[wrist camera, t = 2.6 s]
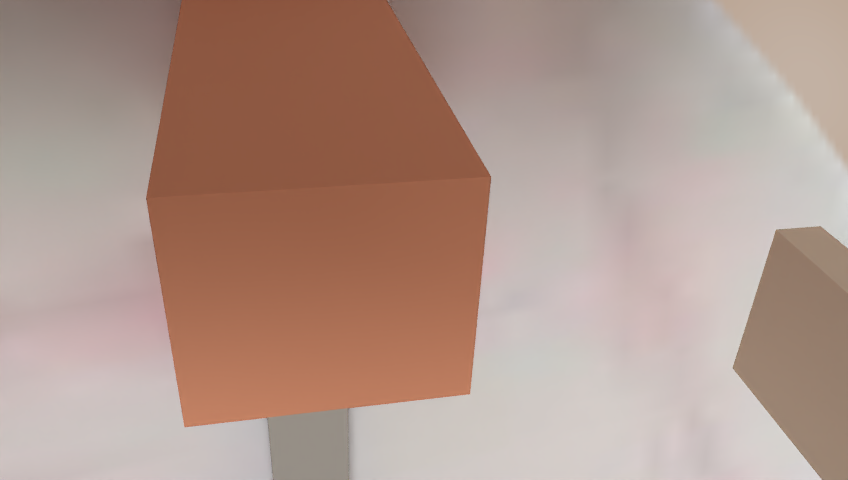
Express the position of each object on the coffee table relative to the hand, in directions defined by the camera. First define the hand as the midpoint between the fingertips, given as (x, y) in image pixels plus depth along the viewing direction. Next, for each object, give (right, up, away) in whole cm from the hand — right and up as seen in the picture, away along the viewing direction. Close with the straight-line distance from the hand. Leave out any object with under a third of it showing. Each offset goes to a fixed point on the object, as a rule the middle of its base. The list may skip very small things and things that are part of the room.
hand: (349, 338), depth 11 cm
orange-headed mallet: (-3, -2, +13) cm, 13 cm away
